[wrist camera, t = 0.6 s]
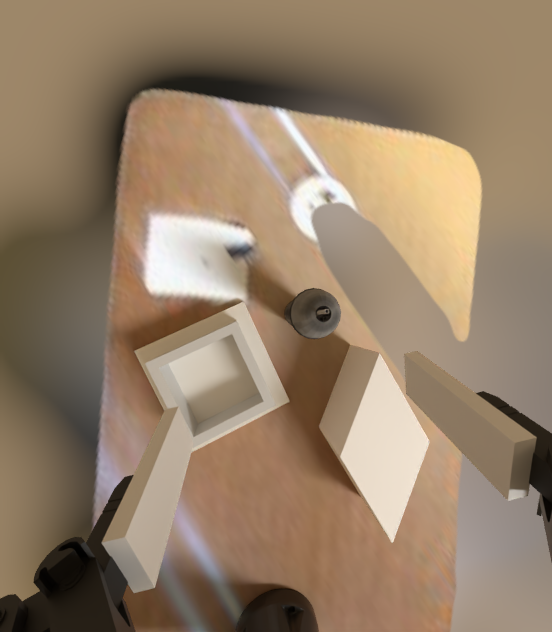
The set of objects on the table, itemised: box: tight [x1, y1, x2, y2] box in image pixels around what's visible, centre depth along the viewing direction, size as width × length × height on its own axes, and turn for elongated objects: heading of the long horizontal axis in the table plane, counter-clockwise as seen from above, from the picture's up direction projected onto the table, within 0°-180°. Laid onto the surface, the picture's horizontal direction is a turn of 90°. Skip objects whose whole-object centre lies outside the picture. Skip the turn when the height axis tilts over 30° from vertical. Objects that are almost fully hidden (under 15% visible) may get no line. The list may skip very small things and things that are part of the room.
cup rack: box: [134, 302, 290, 452], centre depth 44 cm, size 20×20×6 cm
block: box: [319, 345, 429, 543], centre depth 46 cm, size 15×30×11 cm, turn 4°
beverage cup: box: [285, 288, 341, 339], centre depth 39 cm, size 7×7×20 cm
